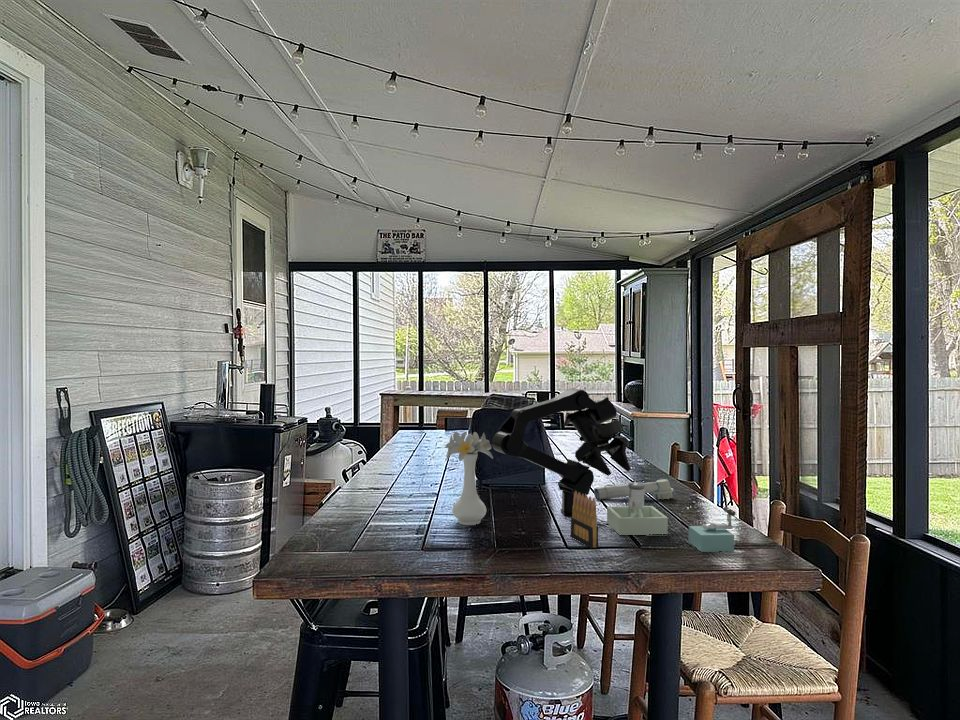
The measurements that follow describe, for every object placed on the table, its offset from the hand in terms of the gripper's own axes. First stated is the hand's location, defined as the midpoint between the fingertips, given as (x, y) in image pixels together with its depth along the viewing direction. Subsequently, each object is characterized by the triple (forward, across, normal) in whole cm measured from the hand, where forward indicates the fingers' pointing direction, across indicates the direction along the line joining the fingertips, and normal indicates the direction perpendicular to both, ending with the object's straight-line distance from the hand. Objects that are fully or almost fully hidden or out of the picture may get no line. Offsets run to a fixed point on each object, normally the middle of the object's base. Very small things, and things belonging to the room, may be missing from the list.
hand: (619, 472), depth 187 cm
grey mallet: (+1, +27, +19) cm, 33 cm away
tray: (+15, -3, +4) cm, 16 cm away
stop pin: (+14, -3, +4) cm, 15 cm away
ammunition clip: (+14, -23, +6) cm, 27 cm away
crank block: (+30, -3, -11) cm, 32 cm away
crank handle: (+28, -2, -14) cm, 31 cm away
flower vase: (-10, -31, +29) cm, 44 cm away
